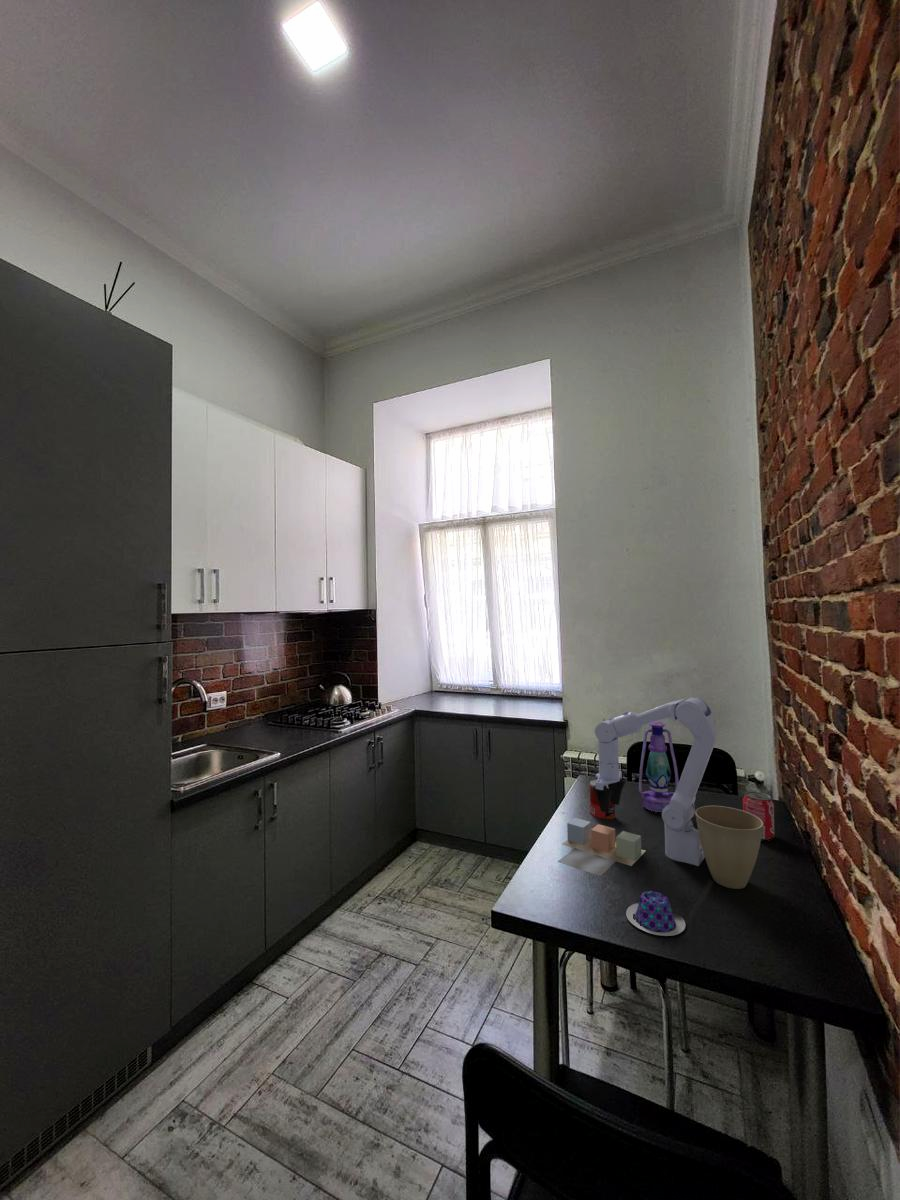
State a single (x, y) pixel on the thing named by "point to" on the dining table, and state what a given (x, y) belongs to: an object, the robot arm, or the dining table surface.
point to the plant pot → (729, 843)
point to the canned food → (595, 806)
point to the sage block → (628, 845)
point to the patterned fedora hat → (655, 915)
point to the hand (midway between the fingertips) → (610, 807)
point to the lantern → (657, 769)
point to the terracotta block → (603, 838)
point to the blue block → (579, 831)
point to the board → (592, 858)
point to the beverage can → (761, 811)
